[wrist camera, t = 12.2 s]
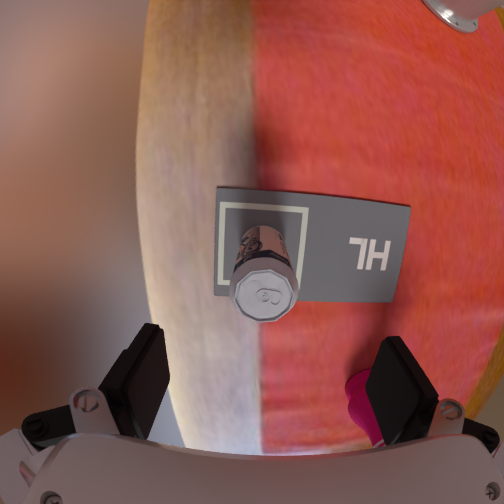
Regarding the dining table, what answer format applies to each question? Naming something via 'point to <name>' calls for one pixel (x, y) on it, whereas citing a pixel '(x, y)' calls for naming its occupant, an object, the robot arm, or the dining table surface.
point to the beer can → (263, 276)
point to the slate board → (318, 241)
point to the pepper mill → (363, 408)
